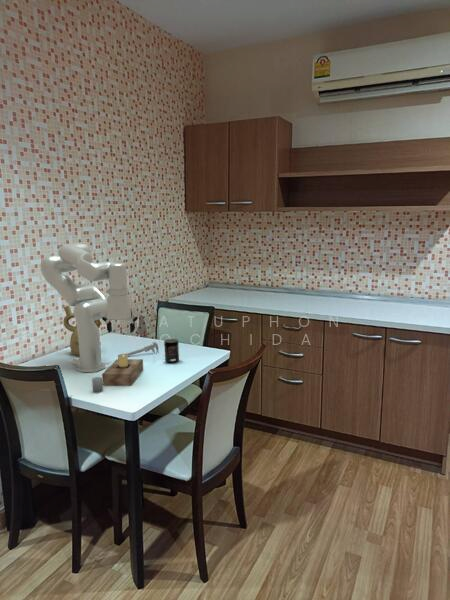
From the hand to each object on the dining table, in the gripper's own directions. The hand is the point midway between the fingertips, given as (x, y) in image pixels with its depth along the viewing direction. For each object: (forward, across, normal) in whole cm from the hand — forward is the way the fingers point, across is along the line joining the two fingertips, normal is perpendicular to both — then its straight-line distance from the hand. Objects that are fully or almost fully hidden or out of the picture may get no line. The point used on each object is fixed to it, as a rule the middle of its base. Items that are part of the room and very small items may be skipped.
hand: (121, 332), depth 199 cm
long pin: (+20, 0, 0) cm, 20 cm away
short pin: (+20, -6, -16) cm, 27 cm away
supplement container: (+20, +17, +22) cm, 35 cm away
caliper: (+21, -2, +33) cm, 39 cm away
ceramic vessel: (+21, -32, +38) cm, 54 cm away
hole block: (+20, 0, 0) cm, 20 cm away
